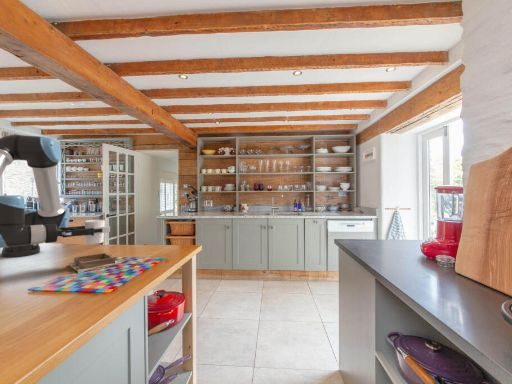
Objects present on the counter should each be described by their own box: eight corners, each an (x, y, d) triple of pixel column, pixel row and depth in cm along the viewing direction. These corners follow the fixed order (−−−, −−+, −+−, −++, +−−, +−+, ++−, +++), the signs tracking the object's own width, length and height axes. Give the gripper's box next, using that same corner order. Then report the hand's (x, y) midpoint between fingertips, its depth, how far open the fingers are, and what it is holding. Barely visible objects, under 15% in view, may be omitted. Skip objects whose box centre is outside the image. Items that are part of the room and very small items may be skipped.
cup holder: (69, 265, 117) (69, 257, 117) (108, 258, 129) (108, 251, 129) (78, 273, 106) (78, 264, 106) (119, 265, 118) (119, 257, 118)
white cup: (80, 243, 115) (80, 221, 115) (98, 240, 122) (98, 219, 122) (90, 245, 112) (91, 222, 112) (108, 242, 119) (108, 220, 119)
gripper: (40, 239, 111) (99, 233, 128) (48, 247, 97) (114, 239, 114) (40, 222, 111) (100, 218, 128) (48, 227, 97) (114, 222, 114)
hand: (106, 228), depth 121 cm, fingers closed on white cup, 8 cm apart
